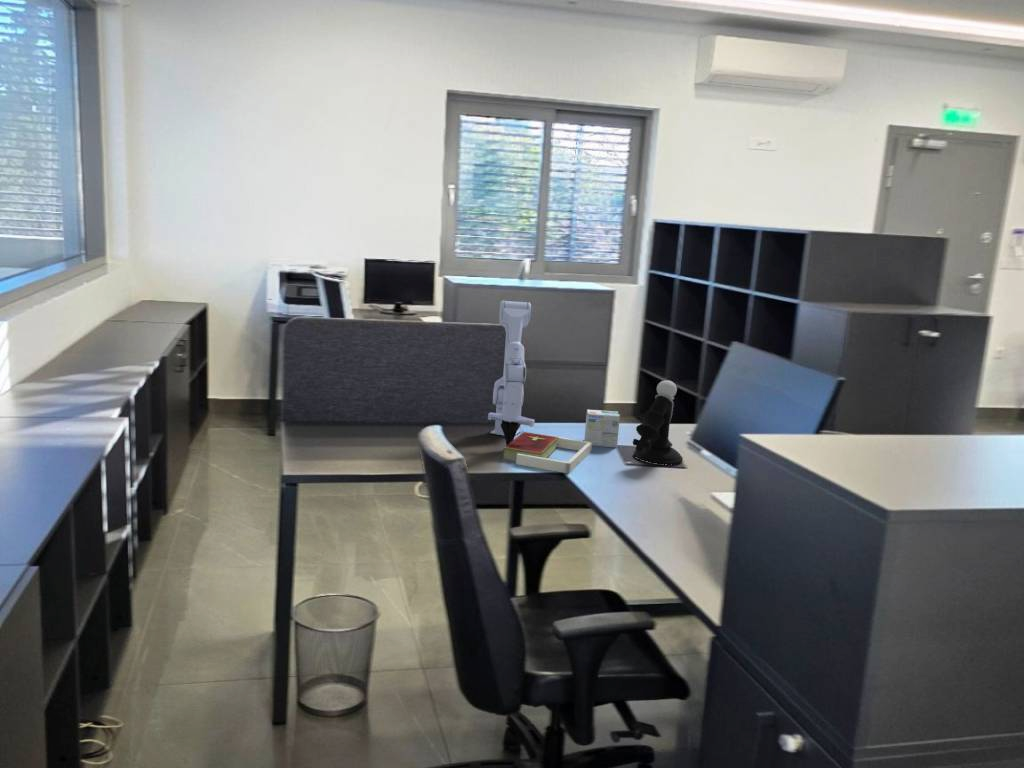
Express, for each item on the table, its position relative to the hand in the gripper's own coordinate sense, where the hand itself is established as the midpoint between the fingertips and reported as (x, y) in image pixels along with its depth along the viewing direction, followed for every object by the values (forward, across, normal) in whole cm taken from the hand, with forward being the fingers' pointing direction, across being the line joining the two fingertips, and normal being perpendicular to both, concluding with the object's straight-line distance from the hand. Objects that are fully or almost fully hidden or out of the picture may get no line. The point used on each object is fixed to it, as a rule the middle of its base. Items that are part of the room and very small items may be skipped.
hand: (509, 445), depth 266 cm
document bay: (+1, +14, 0) cm, 14 cm away
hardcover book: (+2, +7, 0) cm, 7 cm away
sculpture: (+2, +42, +14) cm, 45 cm away
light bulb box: (+2, +23, +24) cm, 34 cm away
